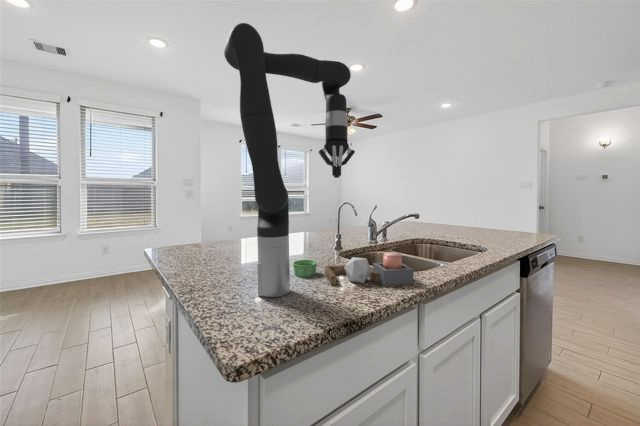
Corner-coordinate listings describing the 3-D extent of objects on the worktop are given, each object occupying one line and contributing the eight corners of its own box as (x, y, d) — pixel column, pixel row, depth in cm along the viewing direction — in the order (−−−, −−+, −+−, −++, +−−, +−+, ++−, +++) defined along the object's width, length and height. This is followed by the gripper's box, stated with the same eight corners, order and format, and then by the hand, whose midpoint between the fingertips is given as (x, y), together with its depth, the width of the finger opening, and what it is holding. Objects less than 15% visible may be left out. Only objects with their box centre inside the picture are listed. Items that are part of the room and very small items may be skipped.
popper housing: (383, 286, 88) (383, 270, 88) (372, 277, 98) (372, 263, 97) (413, 284, 89) (413, 269, 89) (399, 275, 99) (399, 261, 99)
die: (353, 288, 88) (372, 264, 87) (335, 271, 93) (352, 248, 92) (363, 290, 95) (380, 268, 94) (345, 274, 100) (361, 253, 99)
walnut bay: (331, 285, 89) (331, 276, 89) (324, 273, 103) (324, 265, 103) (379, 282, 92) (379, 273, 92) (366, 271, 105) (366, 263, 105)
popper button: (387, 273, 90) (387, 256, 90) (380, 268, 96) (380, 252, 96) (404, 272, 91) (404, 255, 91) (396, 267, 97) (397, 251, 96)
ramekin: (299, 279, 97) (299, 266, 97) (289, 273, 105) (288, 261, 105) (321, 275, 102) (321, 263, 101) (310, 269, 109) (309, 258, 109)
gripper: (318, 123, 91) (319, 176, 92) (358, 124, 93) (358, 176, 94) (315, 129, 98) (316, 178, 99) (352, 129, 100) (352, 178, 101)
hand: (336, 177), depth 97 cm, fingers closed
